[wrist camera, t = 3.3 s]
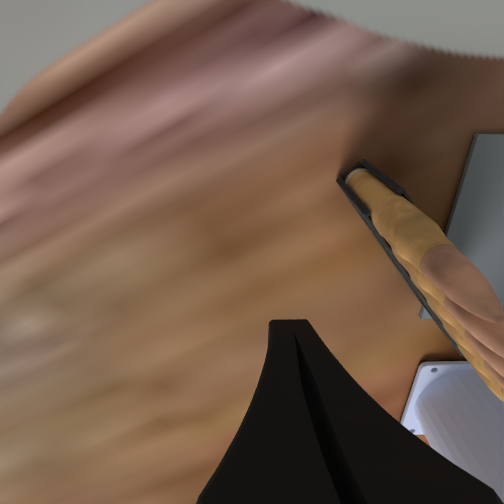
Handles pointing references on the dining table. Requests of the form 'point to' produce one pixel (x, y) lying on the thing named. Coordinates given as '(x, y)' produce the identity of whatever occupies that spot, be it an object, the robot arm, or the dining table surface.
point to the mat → (481, 211)
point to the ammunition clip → (433, 270)
